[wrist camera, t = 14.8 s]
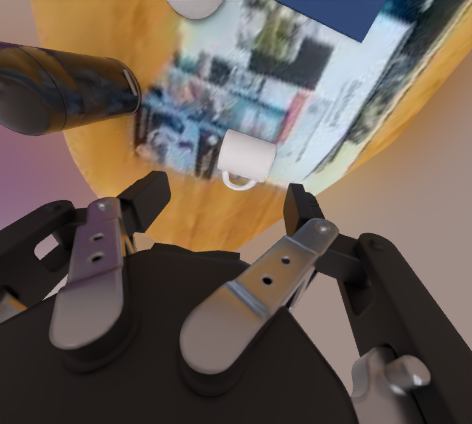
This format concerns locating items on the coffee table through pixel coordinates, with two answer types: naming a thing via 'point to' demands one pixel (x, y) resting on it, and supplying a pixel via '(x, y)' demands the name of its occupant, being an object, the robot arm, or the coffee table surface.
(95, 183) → the coffee table surface
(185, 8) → the flower in vase
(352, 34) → the blue notebook
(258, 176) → the mug
